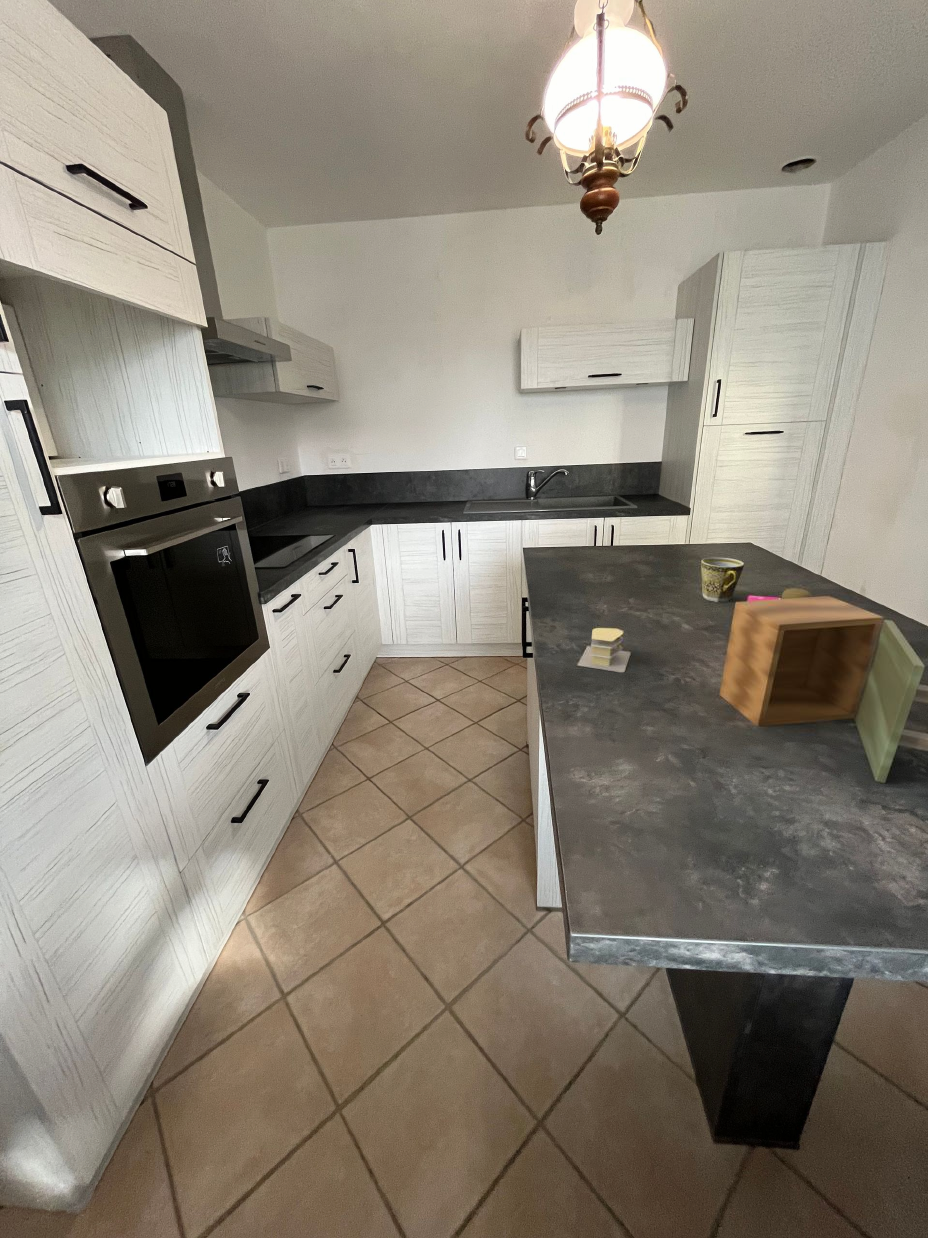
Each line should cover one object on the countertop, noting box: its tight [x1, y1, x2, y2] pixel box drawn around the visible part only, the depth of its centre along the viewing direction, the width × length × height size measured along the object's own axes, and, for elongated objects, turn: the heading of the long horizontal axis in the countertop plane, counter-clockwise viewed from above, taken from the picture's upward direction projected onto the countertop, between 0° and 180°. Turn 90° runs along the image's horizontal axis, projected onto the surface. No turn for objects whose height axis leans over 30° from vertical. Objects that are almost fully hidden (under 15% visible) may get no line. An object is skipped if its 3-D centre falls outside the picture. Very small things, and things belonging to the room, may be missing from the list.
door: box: [853, 619, 928, 784], centre depth 64 cm, size 7×16×17 cm, turn 151°
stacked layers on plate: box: [577, 627, 632, 673], centre depth 98 cm, size 10×9×6 cm
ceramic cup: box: [700, 557, 745, 603], centre depth 127 cm, size 13×10×10 cm
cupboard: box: [719, 595, 885, 727], centre depth 77 cm, size 10×16×17 cm, turn 96°
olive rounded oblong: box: [781, 587, 813, 599], centre depth 103 cm, size 6×6×11 cm
